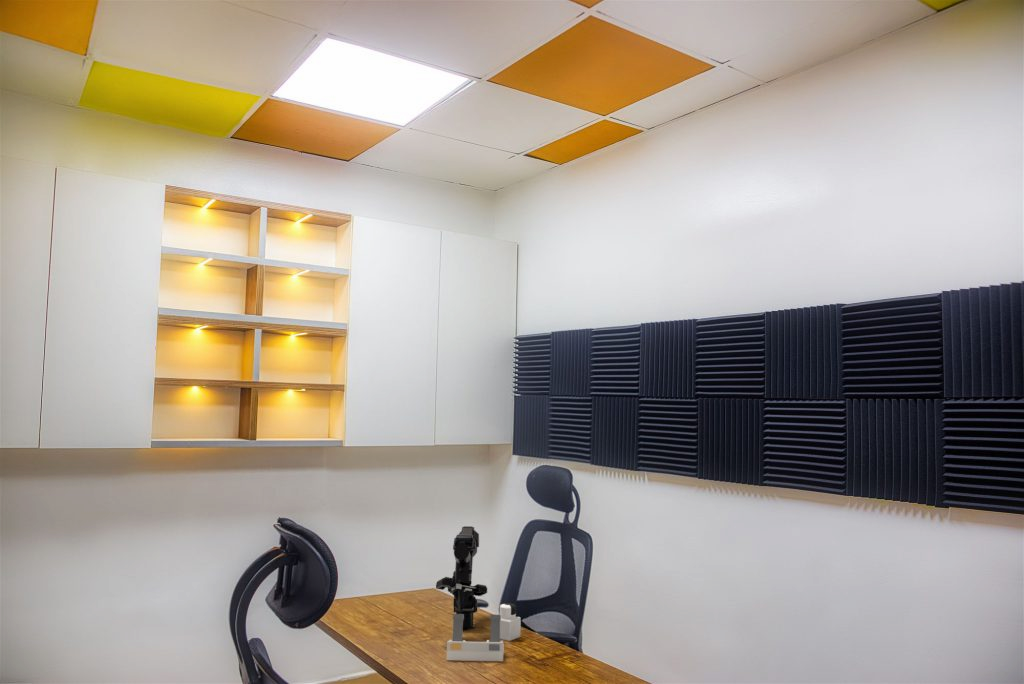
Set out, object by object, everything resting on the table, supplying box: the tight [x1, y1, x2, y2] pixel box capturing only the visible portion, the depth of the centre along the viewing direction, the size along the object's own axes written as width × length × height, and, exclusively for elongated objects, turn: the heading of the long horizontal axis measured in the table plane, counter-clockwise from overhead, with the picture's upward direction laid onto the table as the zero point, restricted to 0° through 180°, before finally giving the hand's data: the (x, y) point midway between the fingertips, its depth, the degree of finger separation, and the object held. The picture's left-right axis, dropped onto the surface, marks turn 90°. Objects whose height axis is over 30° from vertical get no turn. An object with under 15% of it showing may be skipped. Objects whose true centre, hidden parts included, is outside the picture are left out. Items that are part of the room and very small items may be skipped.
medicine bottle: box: [499, 602, 522, 642], centre depth 280 cm, size 7×7×12 cm
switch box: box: [446, 639, 505, 662], centre depth 257 cm, size 9×19×6 cm, turn 89°
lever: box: [489, 614, 501, 642], centre depth 260 cm, size 2×4×10 cm, turn 89°
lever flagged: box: [452, 613, 464, 642], centre depth 260 cm, size 2×4×10 cm, turn 89°
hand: (460, 611), depth 272 cm, fingers closed
